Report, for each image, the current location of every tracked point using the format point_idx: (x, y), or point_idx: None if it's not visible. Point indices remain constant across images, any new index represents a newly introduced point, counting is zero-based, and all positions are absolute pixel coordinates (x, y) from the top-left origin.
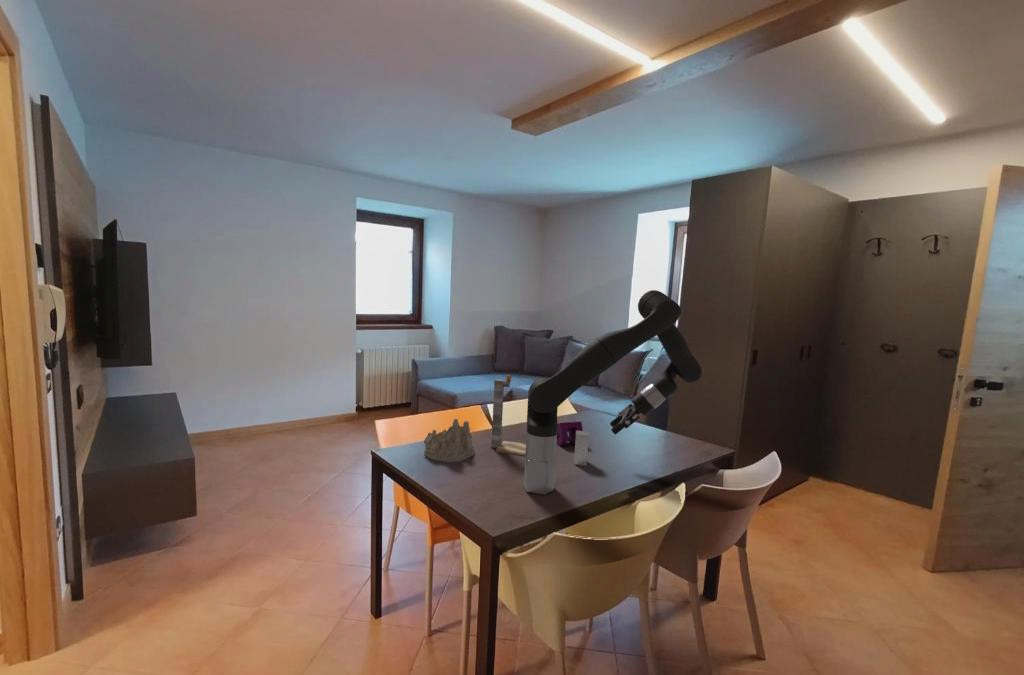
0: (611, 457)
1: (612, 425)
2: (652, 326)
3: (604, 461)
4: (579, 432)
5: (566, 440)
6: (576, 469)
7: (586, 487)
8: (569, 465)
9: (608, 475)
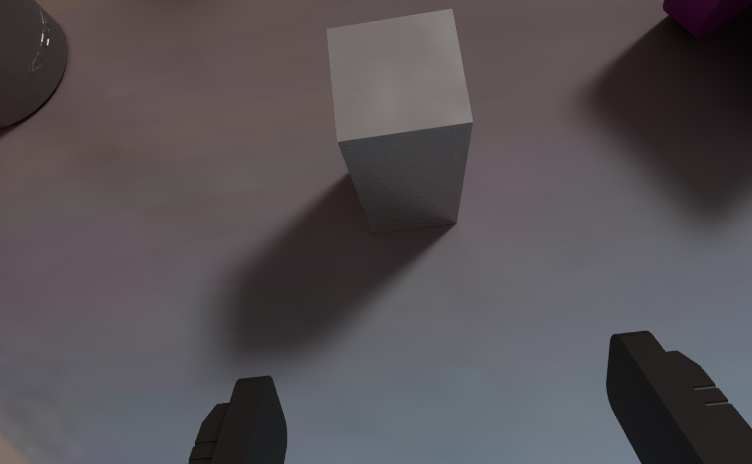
0: None
1: (613, 375)
2: None
3: (517, 338)
4: (398, 46)
5: (695, 20)
6: (290, 185)
7: (48, 276)
8: None
9: None
